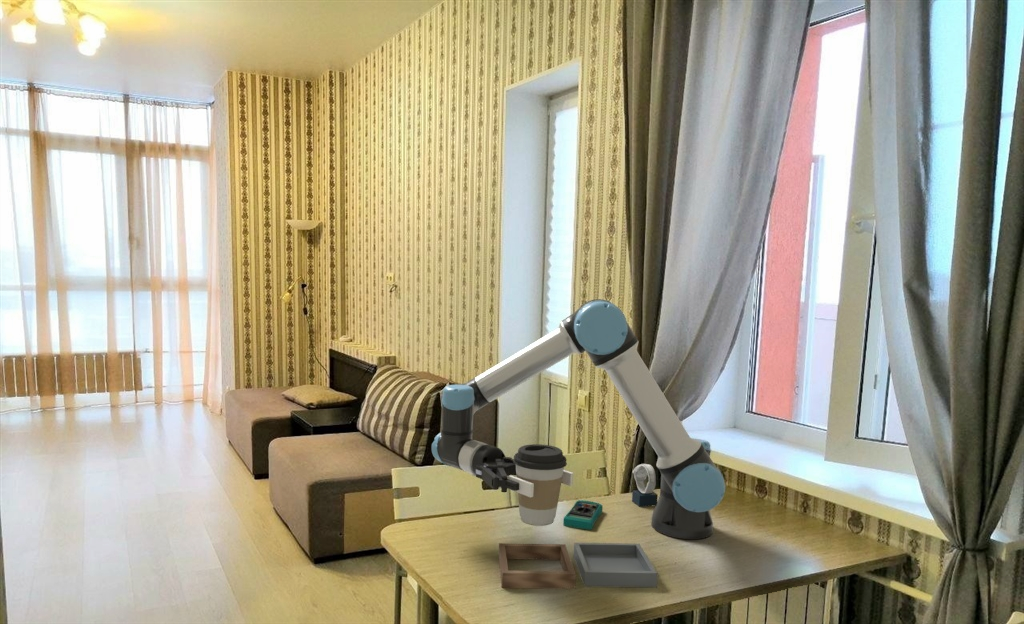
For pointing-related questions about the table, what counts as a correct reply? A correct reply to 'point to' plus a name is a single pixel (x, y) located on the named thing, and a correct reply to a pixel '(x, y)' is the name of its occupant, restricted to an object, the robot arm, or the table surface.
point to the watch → (644, 494)
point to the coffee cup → (540, 482)
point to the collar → (536, 577)
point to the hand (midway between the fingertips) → (552, 484)
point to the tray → (614, 565)
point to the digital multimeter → (583, 514)
